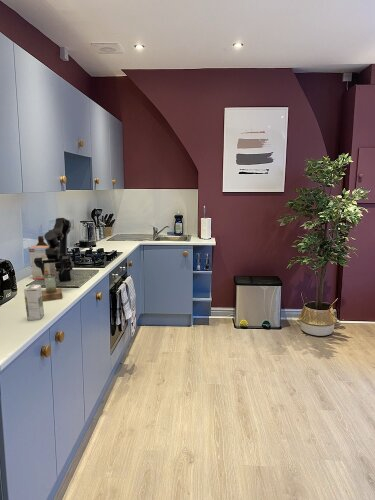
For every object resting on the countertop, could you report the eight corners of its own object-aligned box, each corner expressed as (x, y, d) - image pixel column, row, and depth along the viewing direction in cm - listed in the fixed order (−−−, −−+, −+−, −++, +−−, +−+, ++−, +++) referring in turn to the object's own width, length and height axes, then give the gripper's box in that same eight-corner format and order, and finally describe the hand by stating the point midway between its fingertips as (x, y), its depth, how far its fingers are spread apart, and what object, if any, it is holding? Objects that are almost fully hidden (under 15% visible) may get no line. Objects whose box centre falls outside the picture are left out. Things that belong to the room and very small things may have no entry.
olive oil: (34, 273, 254) (29, 236, 249) (49, 270, 261) (44, 234, 256) (40, 276, 246) (35, 238, 241) (56, 272, 253) (51, 235, 249)
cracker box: (57, 277, 239) (53, 245, 235) (50, 280, 233) (46, 247, 230) (39, 277, 244) (34, 245, 240) (32, 279, 238) (28, 246, 234)
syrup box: (31, 316, 172) (27, 285, 169) (44, 315, 172) (40, 284, 169) (27, 320, 166) (22, 288, 163) (41, 319, 166) (36, 287, 164)
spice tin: (53, 289, 201) (51, 273, 200) (58, 291, 198) (56, 274, 196) (44, 292, 198) (42, 275, 196) (49, 294, 194) (46, 277, 192)
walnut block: (61, 293, 204) (61, 288, 204) (62, 298, 195) (61, 293, 195) (42, 296, 201) (41, 290, 201) (41, 301, 192) (41, 296, 191)
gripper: (32, 243, 202) (29, 268, 193) (68, 240, 204) (66, 265, 195) (38, 254, 211) (35, 279, 203) (72, 252, 213) (71, 276, 205)
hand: (52, 274), depth 201 cm, fingers open, 9 cm apart
